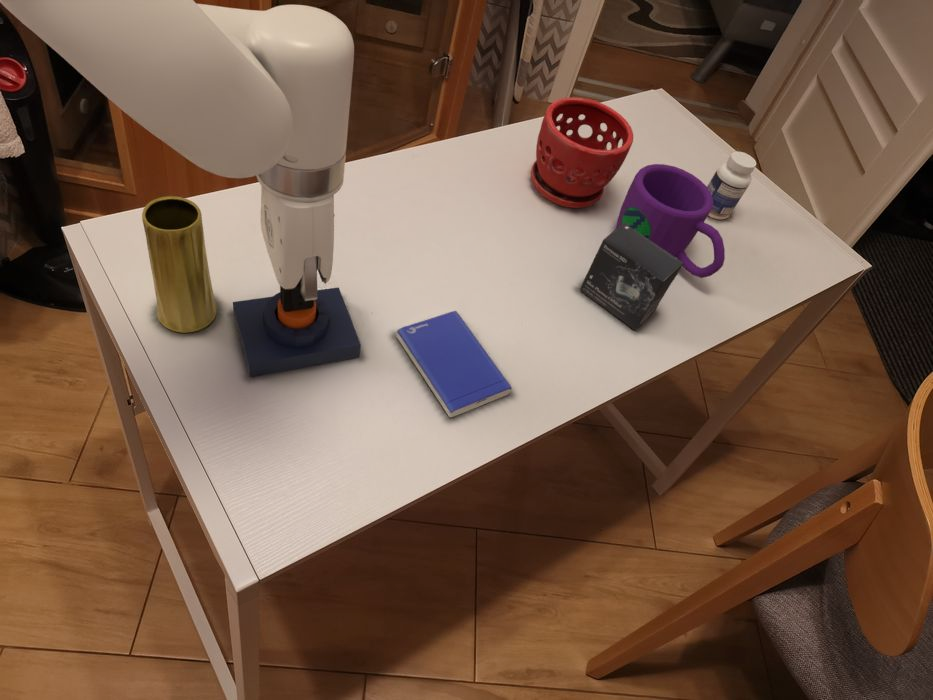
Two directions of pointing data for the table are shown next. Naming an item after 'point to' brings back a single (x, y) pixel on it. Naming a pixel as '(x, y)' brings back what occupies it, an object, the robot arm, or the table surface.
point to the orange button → (297, 317)
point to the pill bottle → (730, 184)
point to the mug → (672, 213)
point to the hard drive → (453, 363)
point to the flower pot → (578, 152)
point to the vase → (179, 264)
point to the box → (630, 275)
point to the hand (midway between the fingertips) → (296, 304)
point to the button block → (294, 334)
